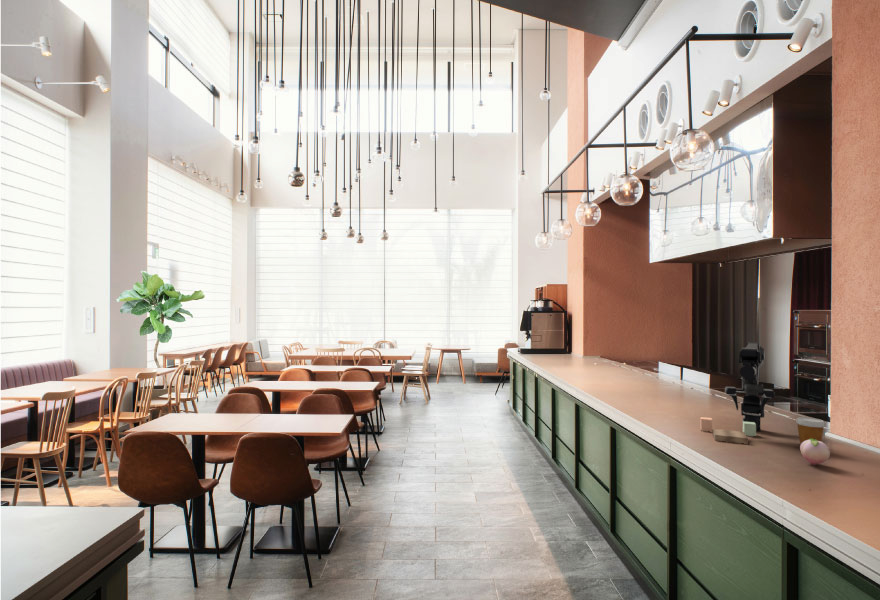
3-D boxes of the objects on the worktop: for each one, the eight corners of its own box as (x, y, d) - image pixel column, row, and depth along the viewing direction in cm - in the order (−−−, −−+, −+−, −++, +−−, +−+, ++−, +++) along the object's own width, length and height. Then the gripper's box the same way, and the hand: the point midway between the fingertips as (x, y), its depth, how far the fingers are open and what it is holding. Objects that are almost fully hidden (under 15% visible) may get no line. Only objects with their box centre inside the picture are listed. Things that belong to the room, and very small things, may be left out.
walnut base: (743, 437, 220) (743, 431, 220) (747, 444, 209) (748, 438, 209) (712, 434, 225) (712, 428, 225) (715, 440, 214) (715, 434, 214)
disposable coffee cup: (817, 453, 197) (817, 423, 197) (790, 447, 205) (790, 418, 205) (830, 451, 201) (830, 420, 201) (803, 445, 209) (803, 416, 210)
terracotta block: (711, 429, 234) (711, 418, 234) (712, 431, 230) (712, 419, 230) (700, 428, 236) (700, 417, 236) (701, 430, 232) (701, 418, 232)
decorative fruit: (833, 470, 176) (834, 441, 176) (806, 467, 179) (806, 439, 179) (823, 462, 185) (824, 435, 185) (797, 460, 188) (797, 433, 188)
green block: (754, 434, 226) (754, 422, 227) (755, 436, 222) (756, 424, 222) (742, 433, 228) (742, 421, 228) (744, 435, 224) (744, 423, 224)
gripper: (727, 377, 222) (727, 412, 222) (777, 380, 215) (777, 416, 214) (724, 374, 232) (724, 408, 232) (772, 377, 225) (772, 412, 225)
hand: (749, 411), depth 226 cm, fingers open, 9 cm apart
